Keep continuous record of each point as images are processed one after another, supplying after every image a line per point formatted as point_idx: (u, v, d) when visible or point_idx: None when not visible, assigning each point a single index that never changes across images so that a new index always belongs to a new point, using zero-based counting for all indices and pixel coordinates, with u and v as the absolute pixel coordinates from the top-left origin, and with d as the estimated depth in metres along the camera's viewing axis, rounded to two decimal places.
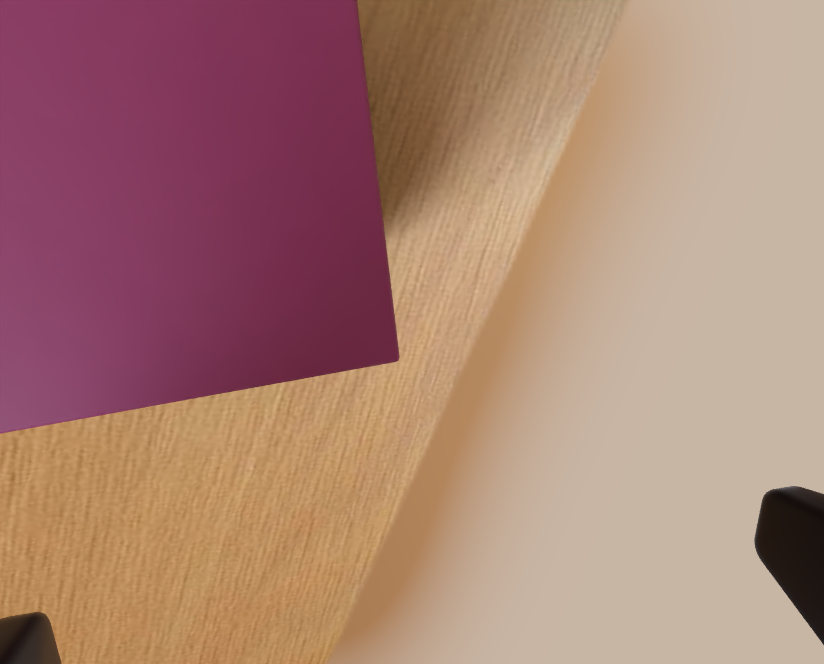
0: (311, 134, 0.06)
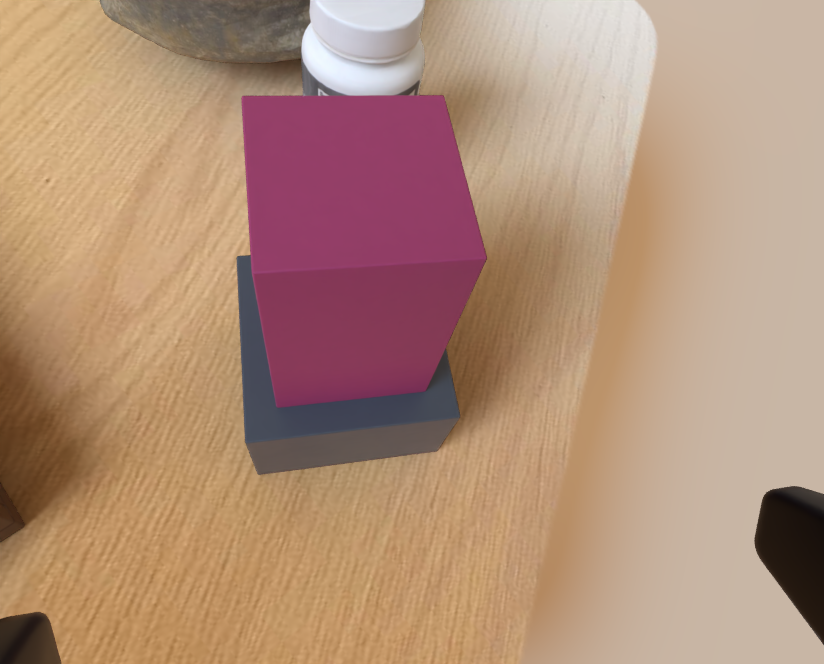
0: (435, 162, 0.13)
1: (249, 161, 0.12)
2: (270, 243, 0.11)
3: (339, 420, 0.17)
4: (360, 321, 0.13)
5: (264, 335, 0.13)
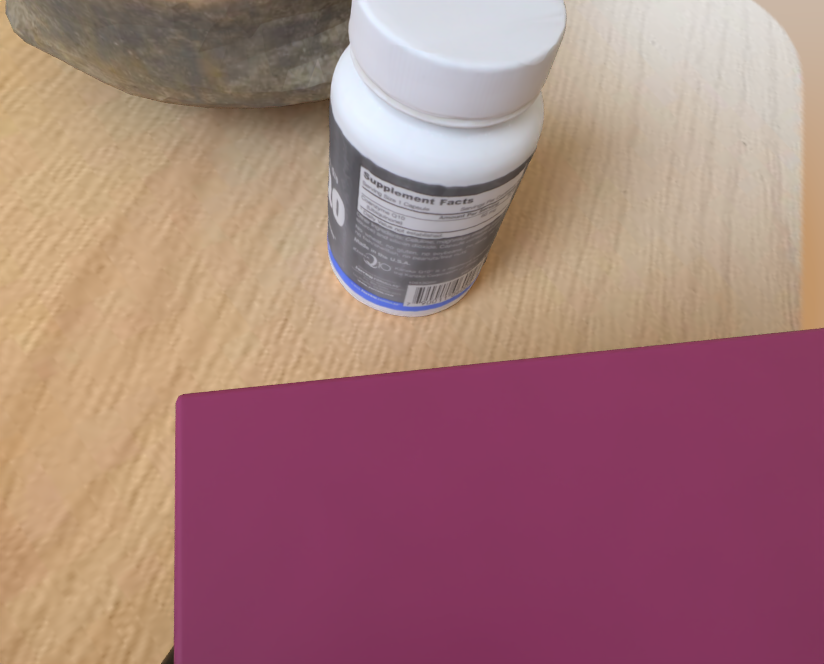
0: None
1: None
2: None
3: None
4: None
5: None
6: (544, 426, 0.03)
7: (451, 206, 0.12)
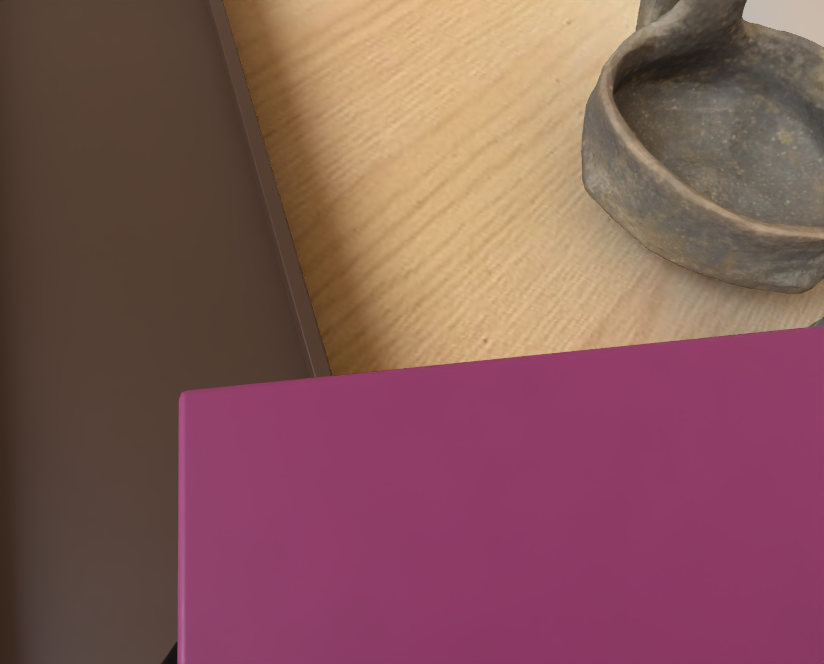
0: None
1: None
2: None
3: None
4: None
5: None
6: (546, 422, 0.03)
7: None
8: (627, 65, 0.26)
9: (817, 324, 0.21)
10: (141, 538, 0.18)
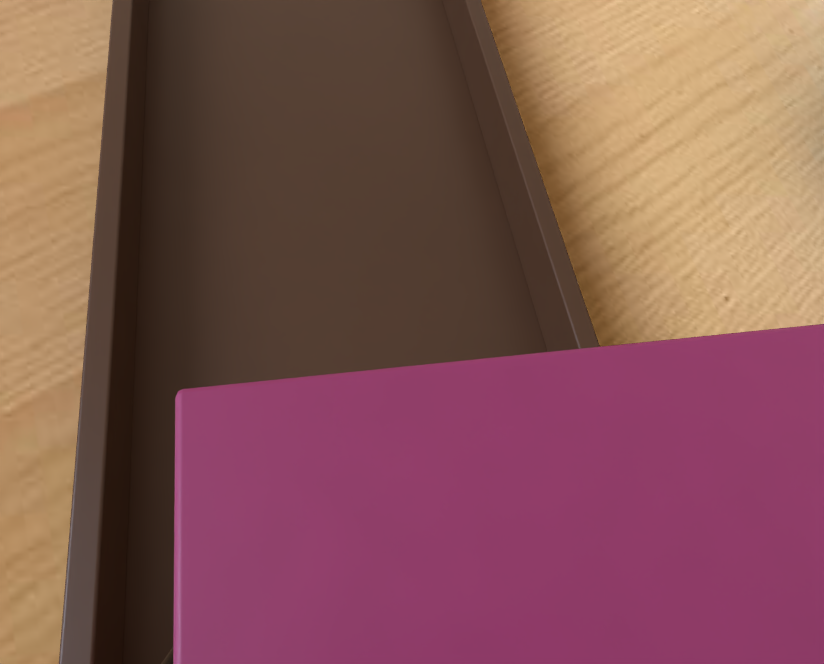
0: None
1: None
2: None
3: None
4: None
5: None
6: (543, 421, 0.03)
7: None
8: None
9: None
10: None
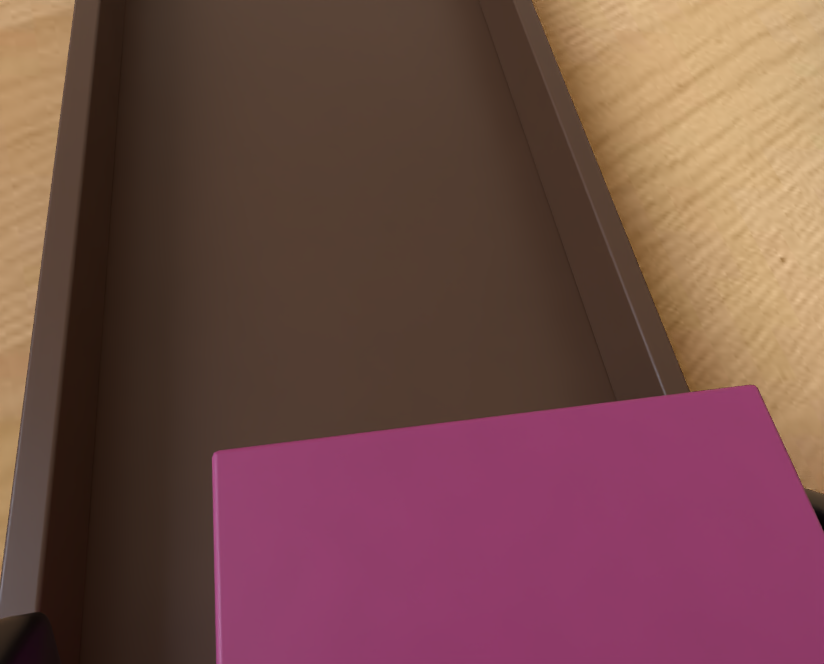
0: (809, 658, 0.04)
1: None
2: None
3: None
4: None
5: None
6: (497, 473, 0.04)
7: None
8: None
9: None
10: (345, 433, 0.12)
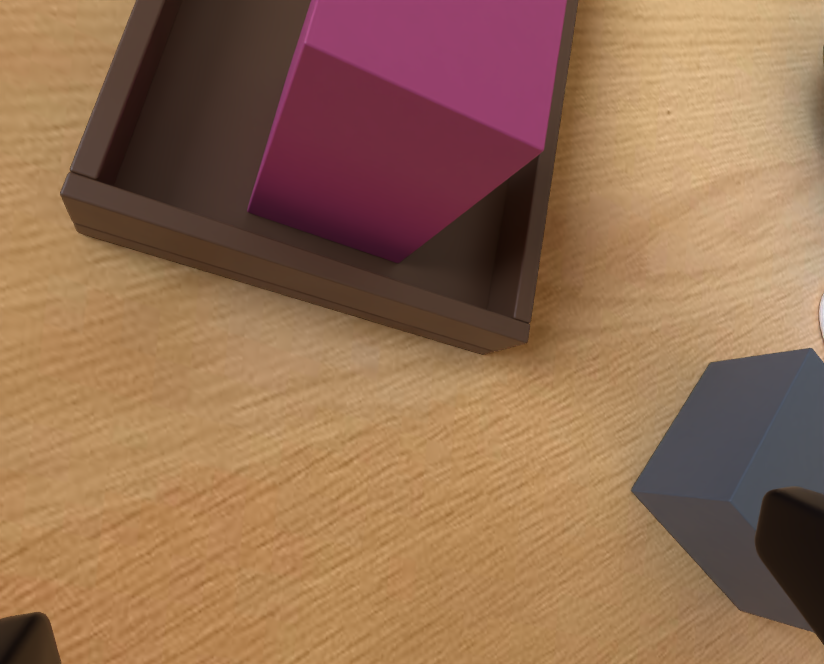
0: (536, 23, 0.11)
1: None
2: (335, 20, 0.09)
3: None
4: (382, 158, 0.12)
5: (277, 124, 0.12)
6: None
7: None
8: None
9: None
10: None
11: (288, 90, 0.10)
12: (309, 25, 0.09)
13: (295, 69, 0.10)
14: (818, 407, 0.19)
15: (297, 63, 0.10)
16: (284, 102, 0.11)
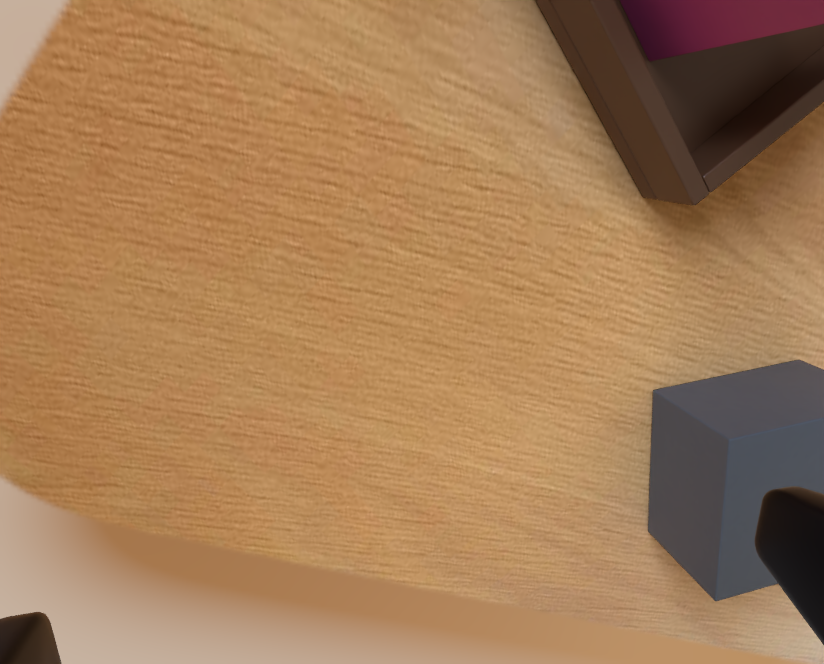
0: None
1: None
2: None
3: (732, 510, 0.19)
4: None
5: None
6: None
7: None
8: None
9: None
10: None
11: None
12: None
13: None
14: None
15: None
16: None
